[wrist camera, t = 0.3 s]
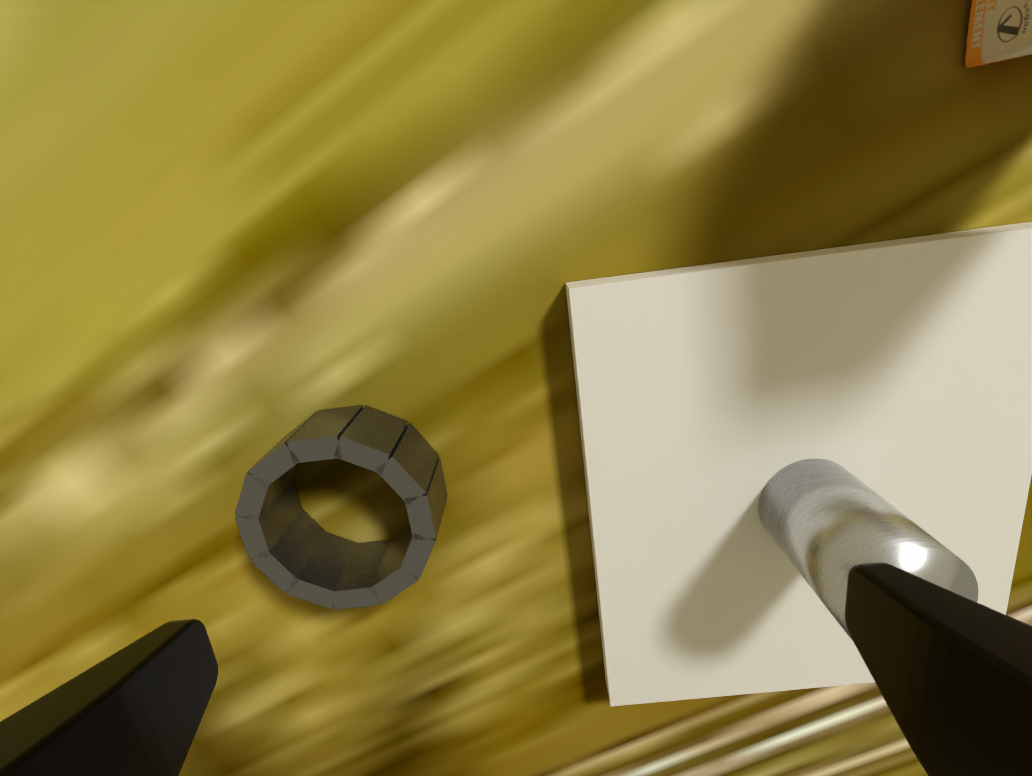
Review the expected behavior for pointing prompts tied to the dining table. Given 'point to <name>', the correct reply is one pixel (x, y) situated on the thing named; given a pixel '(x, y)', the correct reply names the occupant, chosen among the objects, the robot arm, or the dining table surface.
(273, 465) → the gunmetal ring
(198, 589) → the dining table surface
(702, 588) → the base plate
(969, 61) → the supplement box
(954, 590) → the steel pin
